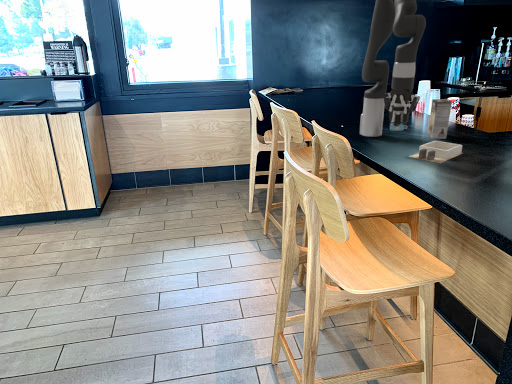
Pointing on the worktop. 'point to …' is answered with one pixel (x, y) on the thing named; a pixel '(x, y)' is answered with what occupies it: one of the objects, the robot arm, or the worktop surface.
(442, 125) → the coffee box
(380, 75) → the robot arm
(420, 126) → the worktop surface
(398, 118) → the push button
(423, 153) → the board
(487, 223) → the worktop surface
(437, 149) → the white open box
